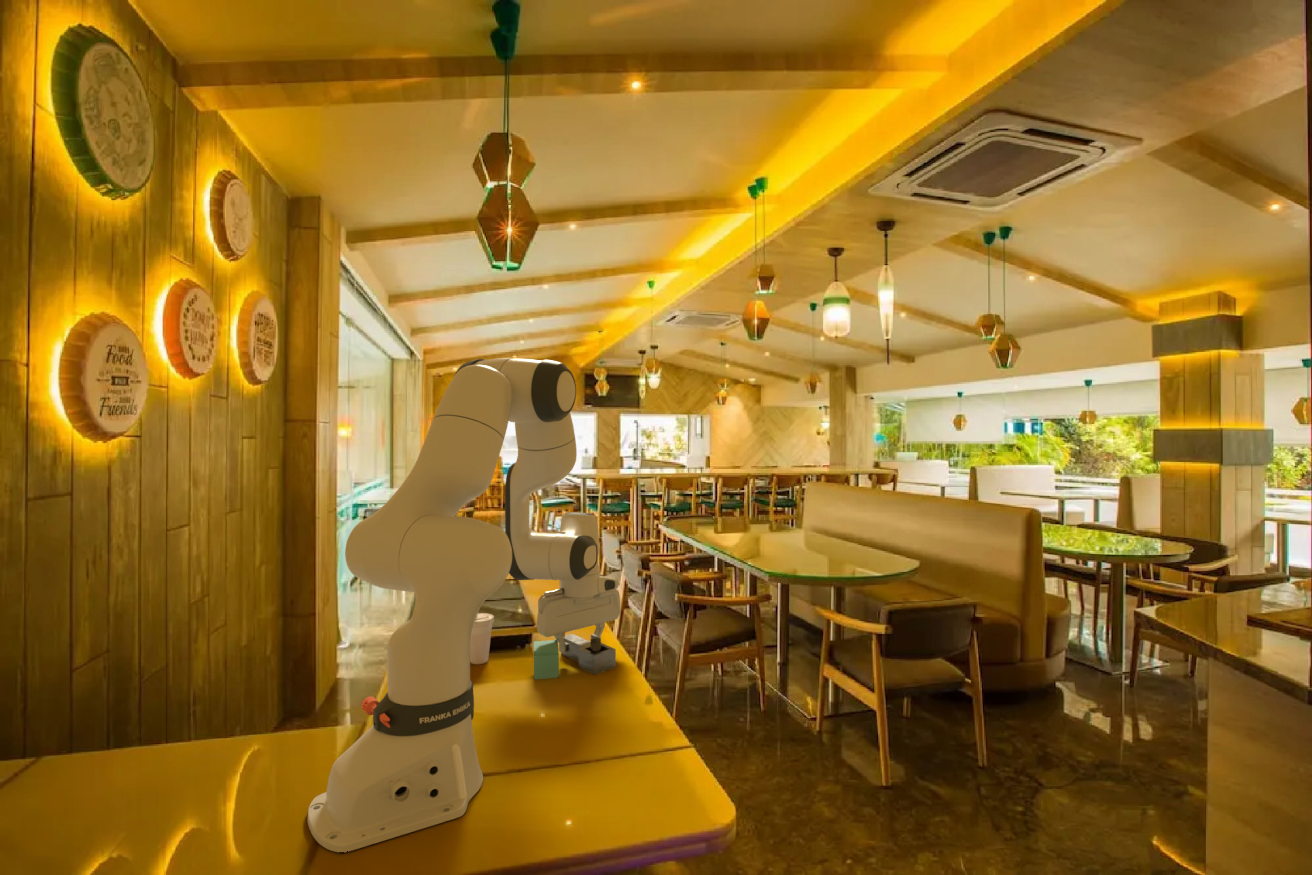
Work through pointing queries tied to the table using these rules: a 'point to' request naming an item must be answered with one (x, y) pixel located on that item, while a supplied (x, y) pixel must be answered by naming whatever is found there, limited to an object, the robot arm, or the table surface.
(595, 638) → the pintle
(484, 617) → the smoothie
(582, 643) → the link
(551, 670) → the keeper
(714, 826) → the table surface
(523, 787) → the table surface
